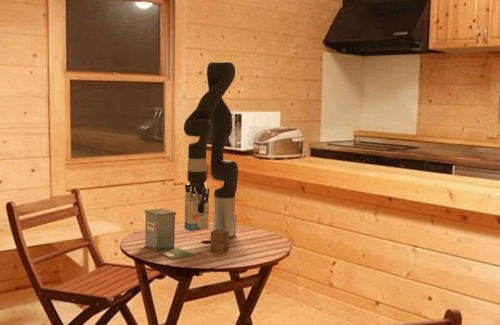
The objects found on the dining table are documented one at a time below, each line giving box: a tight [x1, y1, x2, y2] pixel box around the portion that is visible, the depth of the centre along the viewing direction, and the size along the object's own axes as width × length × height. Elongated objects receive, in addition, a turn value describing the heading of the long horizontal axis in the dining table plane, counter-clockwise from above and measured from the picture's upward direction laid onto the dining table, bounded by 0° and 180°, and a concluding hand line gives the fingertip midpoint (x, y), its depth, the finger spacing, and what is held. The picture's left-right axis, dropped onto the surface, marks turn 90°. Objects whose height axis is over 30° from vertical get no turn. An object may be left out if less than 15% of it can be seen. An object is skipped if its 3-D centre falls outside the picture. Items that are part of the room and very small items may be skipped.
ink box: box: [184, 191, 210, 232], centre depth 230 cm, size 8×5×15 cm, turn 124°
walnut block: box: [210, 229, 230, 254], centre depth 229 cm, size 5×5×8 cm
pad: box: [155, 247, 196, 260], centre depth 222 cm, size 10×12×1 cm
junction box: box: [144, 207, 177, 252], centre depth 231 cm, size 9×10×15 cm
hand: (196, 211), depth 230 cm, fingers closed on ink box, 5 cm apart
